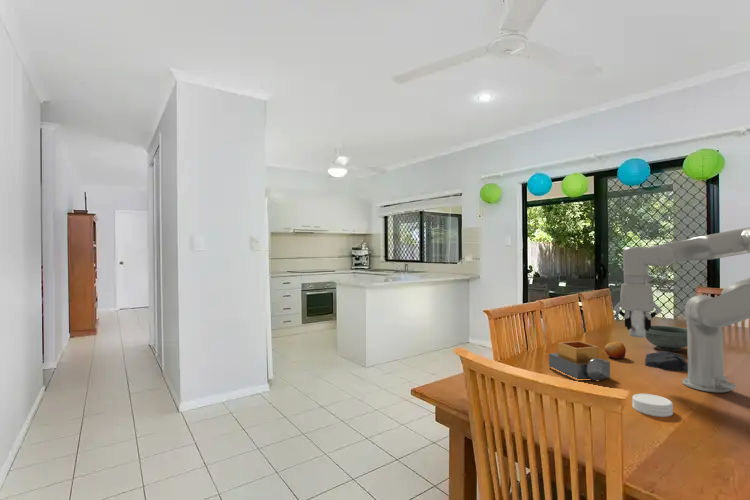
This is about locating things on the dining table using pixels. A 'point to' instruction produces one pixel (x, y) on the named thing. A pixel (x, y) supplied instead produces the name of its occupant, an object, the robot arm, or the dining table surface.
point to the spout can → (637, 323)
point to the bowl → (667, 337)
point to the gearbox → (580, 361)
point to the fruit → (615, 350)
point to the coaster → (652, 405)
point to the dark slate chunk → (666, 361)
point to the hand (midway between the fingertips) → (637, 329)
